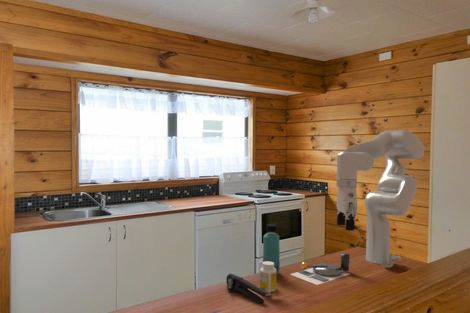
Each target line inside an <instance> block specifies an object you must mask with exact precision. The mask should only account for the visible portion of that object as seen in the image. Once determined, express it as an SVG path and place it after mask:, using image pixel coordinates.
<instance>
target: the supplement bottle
mask: <svg viewBox="0 0 470 313" xmlns="http://www.w3.org/2000/svg"><path fill="white" fill-rule="evenodd" d="M259 288H260V289H261V290H263V291H264V292H265V293H266V295H265V296H266V297H267V296H269V297H271V296H274V295H276V291H277V275H276V269H275V268H274V263H273V262H270V261H265V262H263V261H262V265H261V267H260V269H259Z"/></svg>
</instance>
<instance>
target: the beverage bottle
mask: <svg viewBox="0 0 470 313" xmlns="http://www.w3.org/2000/svg"><path fill="white" fill-rule="evenodd" d="M265 227H266V229H265V231H267V232H266V233H265V234H264V235H263V237H262V238H263V241H262V242H263V245H262V263H263V262H265V261H270V262H273V263H274V268H275V269H276V276H279V274H280V268H281V267H280V260H281V258H280V235H279V234H278V233H276V232H277V231H278V226H277V224H270V223H269V224H266V226H265Z"/></svg>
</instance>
